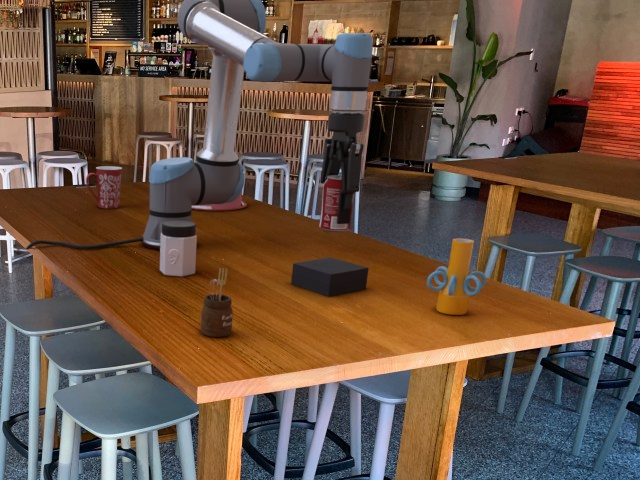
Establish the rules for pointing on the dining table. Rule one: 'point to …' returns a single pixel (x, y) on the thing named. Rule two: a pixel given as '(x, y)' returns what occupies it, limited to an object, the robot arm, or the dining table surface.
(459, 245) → the cylinder
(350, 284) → the pad bottom
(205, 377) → the dining table surface
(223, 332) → the utensil holder
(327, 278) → the pad top
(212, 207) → the cake
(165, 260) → the jar
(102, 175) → the mug
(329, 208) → the soda can
